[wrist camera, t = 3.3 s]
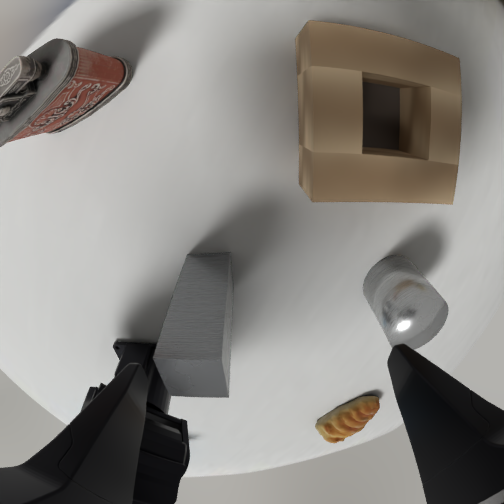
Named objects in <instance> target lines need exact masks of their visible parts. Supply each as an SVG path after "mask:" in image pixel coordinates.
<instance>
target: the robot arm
mask: <svg viewBox="0 0 504 504" xmlns="http://www.w3.org/2000/svg"><path fill="white" fill-rule="evenodd" d="M156 346H157V344H144V343H127V342H115V343H114V345H113V348H114V350H115V352H116V354H117V356H118V358H119V360H120V361H119V363H118V366H117V369H116V371H115V377H114V379H113V380H112V381H111V382H110V383H109V384H108V385H107V386H106V385H104V384H103V383H101V384H100V386H99V388H98V387H90V388H89V391H88V393H87V396H86V398H85V401H84V404H83V406H82V409H81V412H80V413H79V414H78V415H77V416H76V417H75V418H74V419H73V420H72V422H71V423H70V424H69V425H68V426H67V427H66V428H65V429H64V430H63V431H62V432H61V433H60V434H58V435H57V436H56V437H55V438H54V439H53V440H52V441H51V442H50V443H49V444H47V445H46V446H45V447H44V448H43V449H41V450H40V451H39V452H38V453H36V454H35V455H34V456H33V457H31V458H30V459H29V460H28V461H26V462H25V463H23V464H21V465H18V466H14V467H5V468H0V504H174V503H175V502H176V499H177V493H178V487H179V483H180V479H181V477H182V476H183V475H184V474H185V472H186V470H187V467H188V464H189V459H190V450H189V439H188V428H187V421H186V420H184V419H178V418H176V417H173V416H170V415H168V410H169V405H170V399H171V396H170V395H169V393H168V391H167V389H166V386H165V384H164V382H163V380H162V378H161V376H160V373H159V371H158V369H157V367H156V364H155V362H154V360H153V356H154V353H155V350H156ZM387 364H388V369H389V373H390V376H391V380H392V385H393V389H394V393H395V397H396V400H397V403H398V406H399V409H400V412H401V415H402V418H403V421H404V424H405V426H406V430H407V433H408V436H409V439H410V442H411V445H412V449H413V452H414V455H415V458H416V462H417V466H418V469H419V473H420V477H421V481H422V484H423V488H424V493H425V497H426V502H427V504H504V410H502V409H500V408H498V407H496V406H495V405H493V404H491V403H489V402H488V401H486V400H485V399H483V398H482V397H480V396H479V395H477V394H476V393H475V392H473V391H472V390H470V389H469V388H467V387H466V386H464V385H463V384H462V383H460V382H459V381H458V380H456V379H455V378H453V377H452V376H450V375H449V374H448V373H446V372H445V371H443V370H442V369H440V368H439V367H438V366H436V365H435V364H433V363H432V362H430V361H429V360H428V359H426V358H425V357H423V356H422V355H420V354H419V353H417V352H416V351H415V350H413V349H412V348H410V347H409V346H407V345H406V344H403V343H402V344H397V345H394V346H393V348H392V351H391V353H390V356H389V358H388V363H387Z"/></svg>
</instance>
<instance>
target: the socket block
mask: <svg viewBox="0 0 504 504" xmlns="http://www.w3.org/2000/svg"><path fill="white" fill-rule="evenodd" d="M295 43H296V61H297V82H298V114H299V185H300V186H301V187H302V189H303V190H304V191H305V193H306V194H307V195H308V197H309V198H310V200H311V201H312V202H403V203H432V204H453V200H454V194H455V187H456V180H457V173H458V164H459V154H460V141H461V118H462V96H461V73H460V61H459V58H457V57H455V56H453V55H450V54H448V53H445V52H443V51H440V50H438V49H435V48H432V47H430V46H427V45H424V44H421V43H418V42H415V41H412V40H408V39H405V38H402V37H398V36H395V35H391V34H387V33H383V32H379V31H374V30H370V29H365V28H360V27H355V26H349V25H343V24H336V23H329V22H321V21H311V20H308V22H307V23H306V25H305V26H304V27H303V29H302V30H301V31H300V33H299V34H298V36H297V37H296V39H295Z"/></svg>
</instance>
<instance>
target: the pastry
mask: <svg viewBox="0 0 504 504" xmlns="http://www.w3.org/2000/svg"><path fill="white" fill-rule="evenodd" d="M379 408H380V404H379V398H378V397H376V396H362V397H358V398H357V399H355V400H353V401H351V402H348V403H346V404H343V405H341V406H339V407H338V408H336V409H334V410H333V411H331V412H329V413H328V414H326V415H324V416H323V417H321V418H320V419H319V420H318V421H317V423H316V424H315V427H316V429H317V430H318V432H319V434H320V435H322V436H323V438H324V439H325V440H326V441H328V442H330V443H337V442H339V441H344V439H345V438H346V437H348V436H351V435H353V434H355V433H357V432H359V431H361V430H362V429H363V428H364V426H365V424H366V423H367V422H368V421H369V420H370V419H372V418H373V416H374V415H375V414H376V413H377V411H378V409H379Z"/></svg>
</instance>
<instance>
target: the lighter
mask: <svg viewBox="0 0 504 504" xmlns="http://www.w3.org/2000/svg"><path fill="white" fill-rule="evenodd" d="M131 79H132V68H131V66H130V64H129V62H128V61H126V60H125V59H123V58H120V57H116V56H112V57H109V56H106V55H102V54H99V53H96V52H93V51H89V50H86V49H83V48H79V47H76V45H75V44H74V43H72V42H71V41H68V40H64V39H53V40H51V41H49V42H47V43H46V44H44V45H43V46H41V47H40V48H38V49H37V50H35V51H34V52H32V53H31V54H30V55H28V56H27V57H25V56H16V57H14V58H13V59H12V60H11V61H10V62H9V63H8V64H7V65H6V66H5V67H4V68H3V69H2V71H1V72H0V147H1V146H3V145H4V144H6V143H7V142H11V141H14V140H18V139H21V138H25V137H29V136H33V135H37V134H41V133H48V134H53V133H57V132H61V131H63V130H65V129H67V128H69V127H71V126H74V125H76V124H77V123H79V122H80V121H82V120H84V119H86V118H87V117H89V116H91V115H92V114H94V113H95V112H96V111H98V110H99V109H100V108H102V107H103V106H104V105H106V104H107V103H109V102H110V101H111V100H112V99H113V98H114V97H116V96H117V95H118V94H119V93H120V92H122V91H123V90H124V89H125V88H126V87H127V86H128V85H129V83H130V81H131Z"/></svg>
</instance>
